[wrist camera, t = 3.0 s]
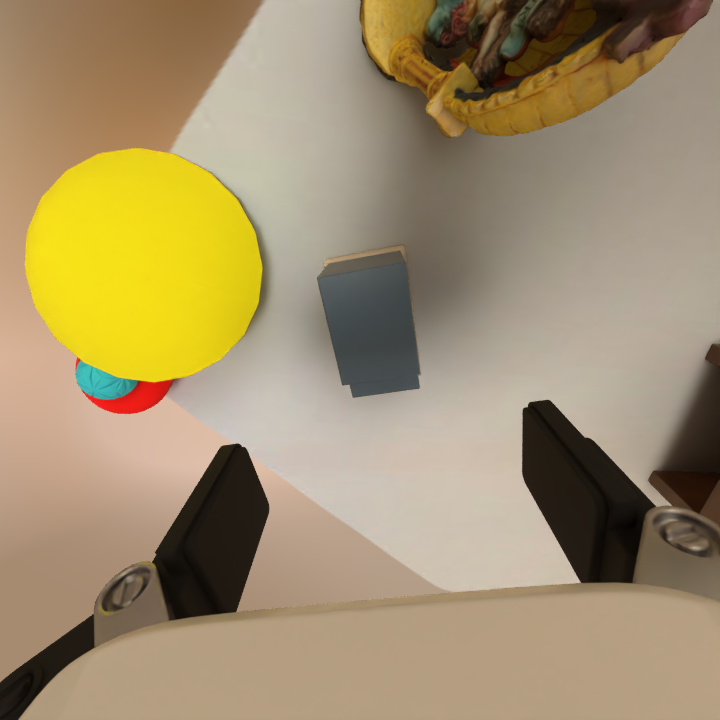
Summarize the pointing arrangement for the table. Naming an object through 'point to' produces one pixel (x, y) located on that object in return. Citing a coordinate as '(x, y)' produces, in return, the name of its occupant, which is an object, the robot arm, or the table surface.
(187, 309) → the toy
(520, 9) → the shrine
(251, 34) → the table surface
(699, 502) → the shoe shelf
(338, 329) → the blue block
